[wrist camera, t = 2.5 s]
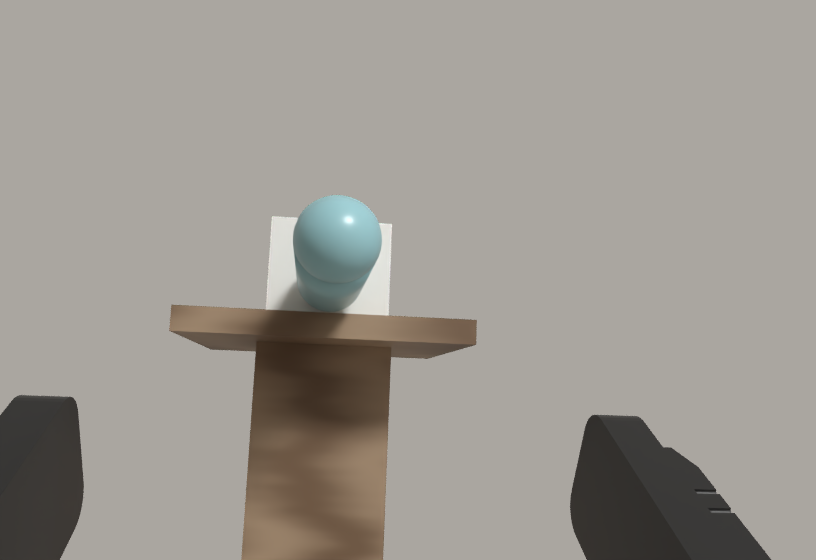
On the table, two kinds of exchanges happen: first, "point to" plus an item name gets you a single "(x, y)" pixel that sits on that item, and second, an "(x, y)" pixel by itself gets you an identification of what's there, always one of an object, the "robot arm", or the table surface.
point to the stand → (318, 420)
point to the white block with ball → (330, 260)
